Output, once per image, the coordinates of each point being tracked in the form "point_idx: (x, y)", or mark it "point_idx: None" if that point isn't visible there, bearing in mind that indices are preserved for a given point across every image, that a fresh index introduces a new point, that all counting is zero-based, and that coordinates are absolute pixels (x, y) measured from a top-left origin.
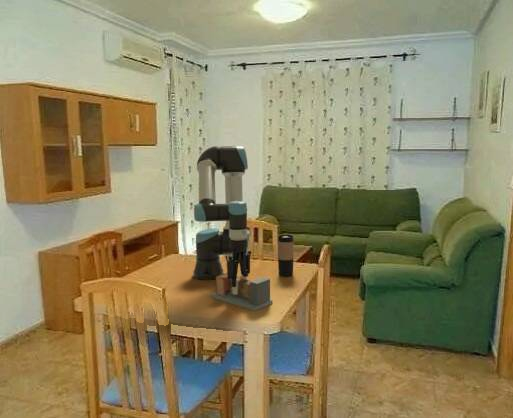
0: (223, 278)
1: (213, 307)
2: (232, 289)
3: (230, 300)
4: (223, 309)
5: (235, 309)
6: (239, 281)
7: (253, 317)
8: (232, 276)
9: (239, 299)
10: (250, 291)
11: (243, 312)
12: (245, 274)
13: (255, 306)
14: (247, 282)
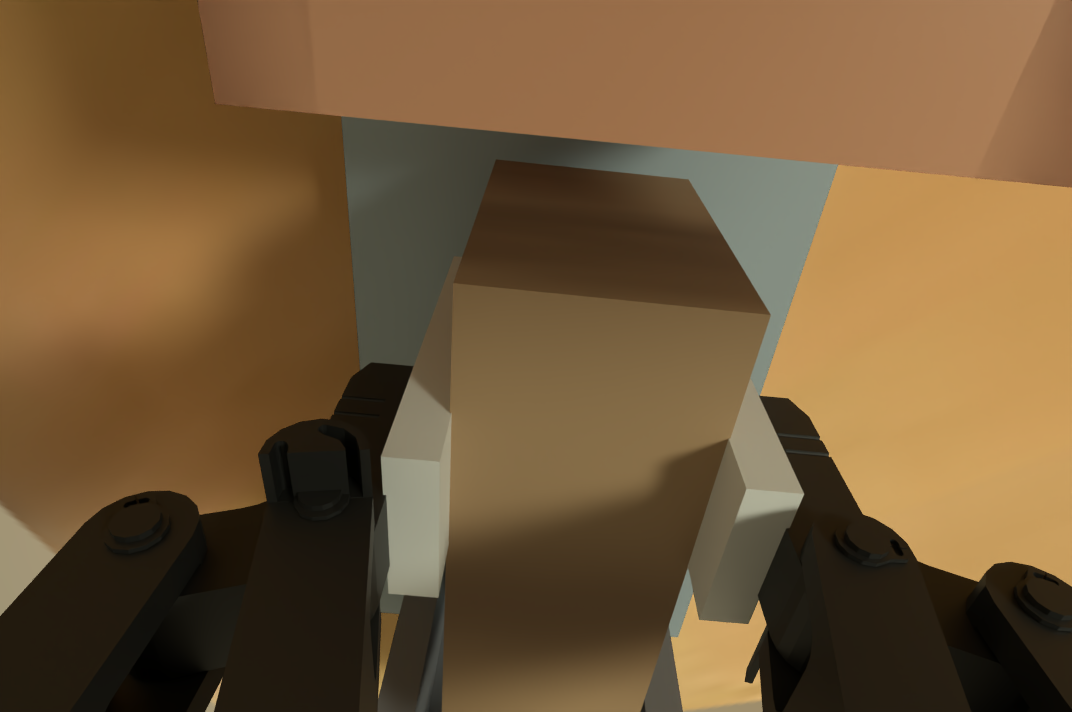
0: (257, 102)
1: (53, 138)
2: (442, 289)
3: (354, 266)
4: (140, 309)
5: (264, 420)
6: (477, 558)
7: None
8: (149, 704)
9: None
10: (378, 707)
11: None
12: (773, 676)
13: (397, 607)
14: (525, 685)
